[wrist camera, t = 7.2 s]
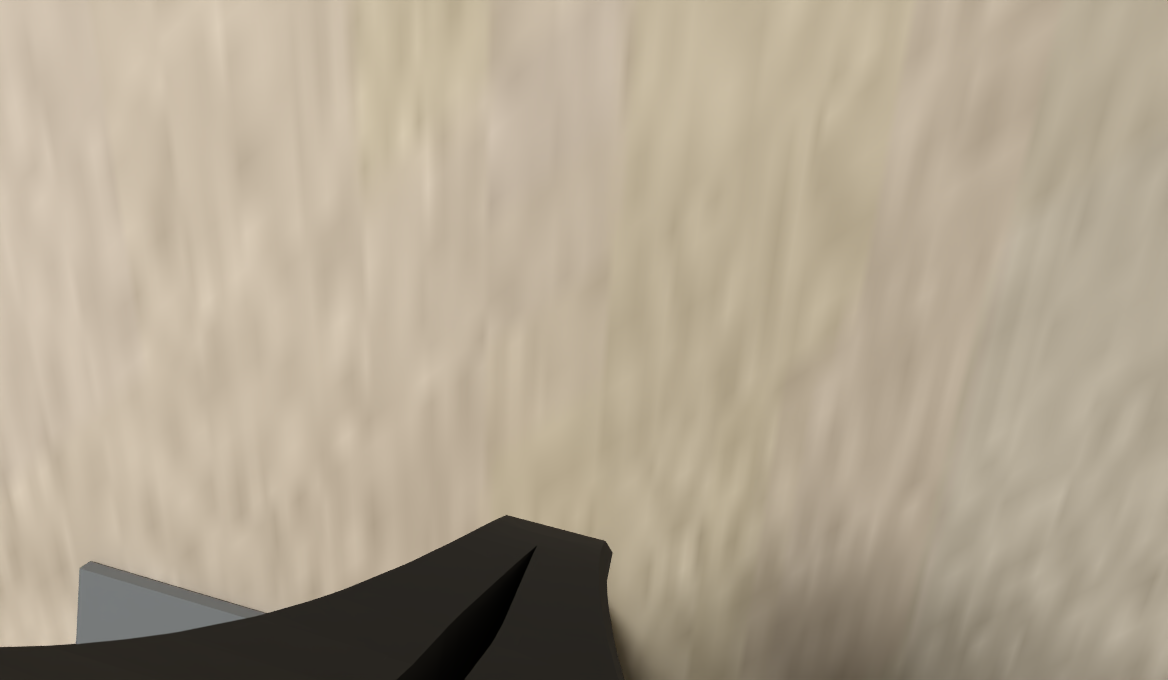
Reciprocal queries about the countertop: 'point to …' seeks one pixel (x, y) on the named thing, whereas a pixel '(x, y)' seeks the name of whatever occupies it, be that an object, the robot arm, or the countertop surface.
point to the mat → (142, 606)
